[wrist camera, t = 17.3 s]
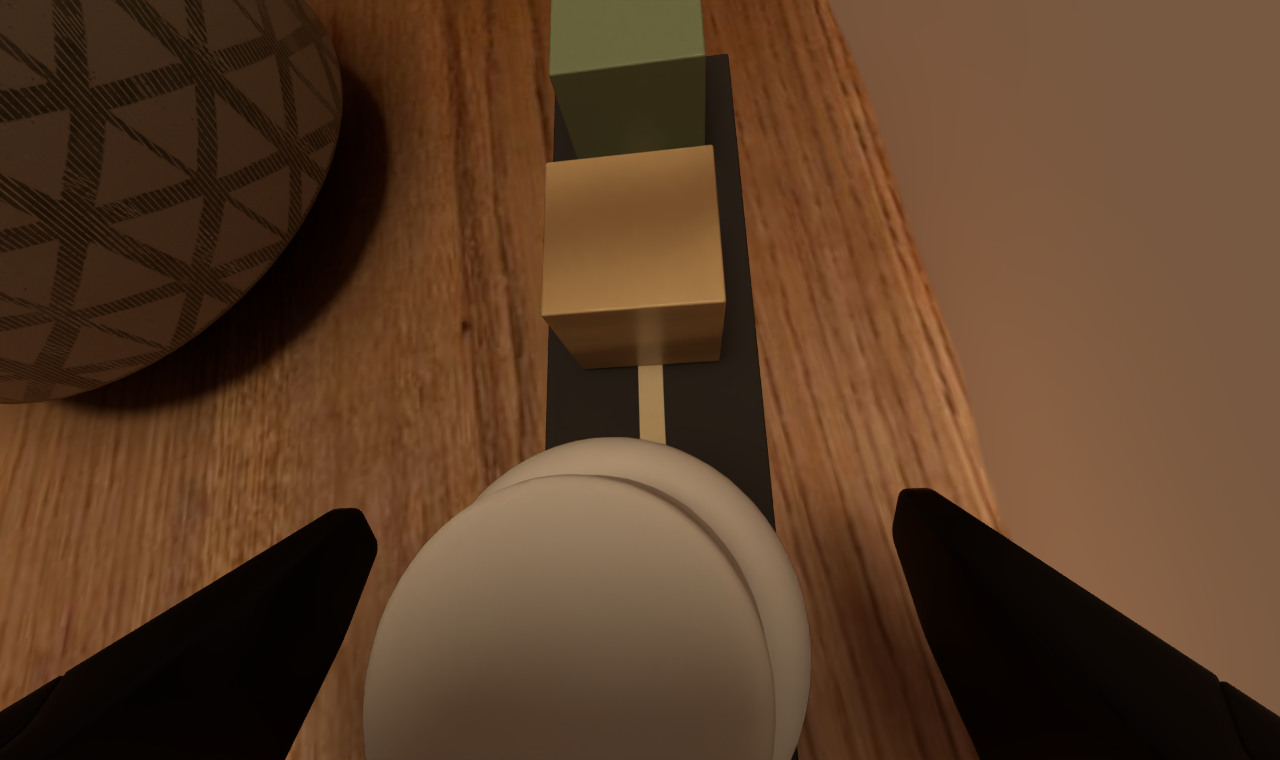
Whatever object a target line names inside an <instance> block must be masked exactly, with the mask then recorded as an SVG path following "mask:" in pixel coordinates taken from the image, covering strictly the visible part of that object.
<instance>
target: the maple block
mask: <svg viewBox="0 0 1280 760" xmlns="http://www.w3.org/2000/svg"><path fill="white" fill-rule="evenodd" d="M725 306H726V292H725V280H724V268H723V256H722V244H721V232H720V220H719V208H718V196H717V184H716V172H715V160H714V148H713V145H704V146H695V147H686V148H677V149H668V150H659V151H650V152H641V153H631V154H622V155H613V156H604V157H595V158H586V159H577V160H568V161H559V162H550V163H546V176H545V207H544V238H543V269H542V300H541V315H542V317H543V318H544V320H545V321H546V322H547V323H548V325H549V326H550V327H551V329H552V330H553V331H554V332H555V334H556V335H557V336H558V338H559V339H560V340H561V341H562V343H563V344H564V345H565V347H566V348H567V349H568V350H569V352H570V353H571V354H572V356H573V357H574V358H575V359H576V361H577V362H578V363H579V365H580V366H581V367H582V368H583V369H597V368H613V367H629V366H645V365H661V364H677V363H693V362H709V361H719V359H720V351H721V342H722V333H723V324H724V315H725Z"/></svg>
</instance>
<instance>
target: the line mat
mask: <svg viewBox="0 0 1280 760" xmlns="http://www.w3.org/2000/svg"><path fill="white" fill-rule="evenodd" d="M705 145H713V148H714V160H715V172H716V184H717V196H718V208H719V220H720V232H721V244H722V256H723V268H724V280H725V292H726V306H725V315H724V324H723V333H722V342H721V351H720V359H719V361H709V362H693V363H677V364H661V365H645V366H629V367H613V368H597V369H583V368H582V367H581V366H580V365H579V363H578V362H577V361H576V359H575V358H574V357H573V356H572V354H571V353H570V352H569V350H568V349H567V348H566V347H565V345H564V344H563V343H562V341H561V340H560V339H559V338H558V336H557V335H556V334H555V332H554V331H553V330H552V329H551V327H550V326H549V338H548V375H547V412H546V449H545V451H546V450H548V449H551V448H553V447H556V446H559V445H563V444H566V443H570V442H574V441H578V440H584V439H590V438H603V437H627V438H635V439H643V440H648V441H652V442H656V443H660V444H664V445H667V446H670V447H673V448H676V449H678V450H681V451H683V452H685V453H687V454H689V455H692V456H694V457H695V458H697V459H699V460H701V461H703V462H704V463H706V464H708V465H710V466H711V467H713V468H714V469H716V470H717V471H719V472H720V473H721V474H723V475H724V476H725V477H727V478H728V479H729V480H730V481H731V482H733V483H734V484H735V485H736V486H737V487H738V488H739V489H740V490H741V491H742V492H743V493H744V494H745V495H746V496H747V497H748V498H749V499H750V500H751V501H752V502H753V503H754V504H755V505H756V506H757V508H758V509H759V510H760V511H761V513H762V514H763V515H764V516H765V518H766V519H767V521H768V522H769V524H770V525H771V527H772V528H773V530H774V531H775V533H776V529H775V519H774V509H773V499H772V489H771V479H770V469H769V459H768V449H767V439H766V429H765V419H764V409H763V399H762V389H761V379H760V369H759V359H758V349H757V338H756V328H755V318H754V308H753V298H752V288H751V278H750V268H749V258H748V248H747V238H746V228H745V218H744V208H743V198H742V188H741V178H740V168H739V158H738V148H737V138H736V128H735V118H734V108H733V98H732V88H731V78H730V68H729V58H728V54H722V55H714V56H706V73H705ZM577 159H578V158H577V156H576V153H575V150H574V147H573V144H572V141H571V138H570V135H569V132H568V129H567V126H566V123H565V120H564V118H563V115H562V112H561V109H560V106H559V103H558V100H557V97H556V94H555V118H554V155H553V162H559V161H568V160H577ZM791 760H799V759H798V749H797V746H796V748H795V751H794V754H793V756H792V758H791Z"/></svg>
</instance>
